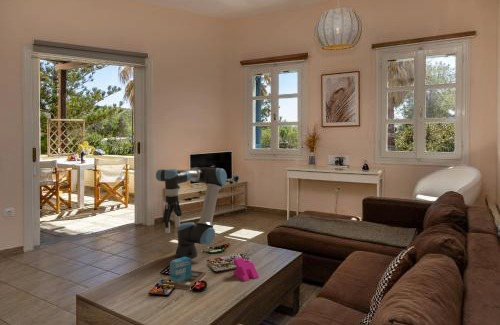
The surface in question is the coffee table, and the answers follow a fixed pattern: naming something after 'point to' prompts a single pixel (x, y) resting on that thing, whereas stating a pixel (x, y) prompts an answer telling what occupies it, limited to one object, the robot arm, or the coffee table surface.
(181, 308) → the coffee table surface
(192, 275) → the rubber bar
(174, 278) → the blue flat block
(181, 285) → the slot board
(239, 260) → the pink plastic figure
